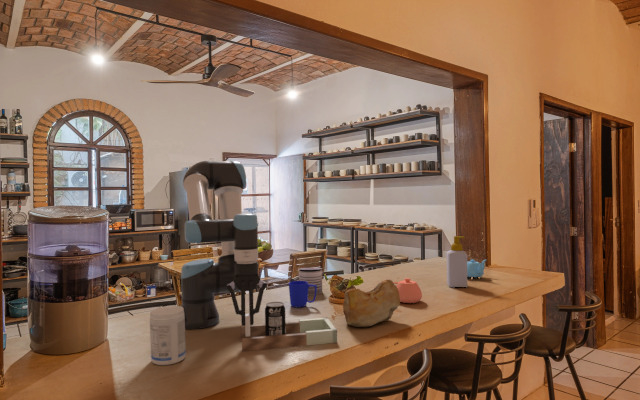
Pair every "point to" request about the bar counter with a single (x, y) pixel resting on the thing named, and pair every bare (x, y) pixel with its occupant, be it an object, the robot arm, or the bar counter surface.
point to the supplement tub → (167, 335)
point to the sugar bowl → (409, 291)
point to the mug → (300, 293)
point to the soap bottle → (457, 265)
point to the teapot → (475, 268)
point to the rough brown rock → (371, 304)
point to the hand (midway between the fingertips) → (247, 334)
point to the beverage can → (275, 319)
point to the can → (312, 279)
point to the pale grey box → (318, 331)
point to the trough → (272, 337)
